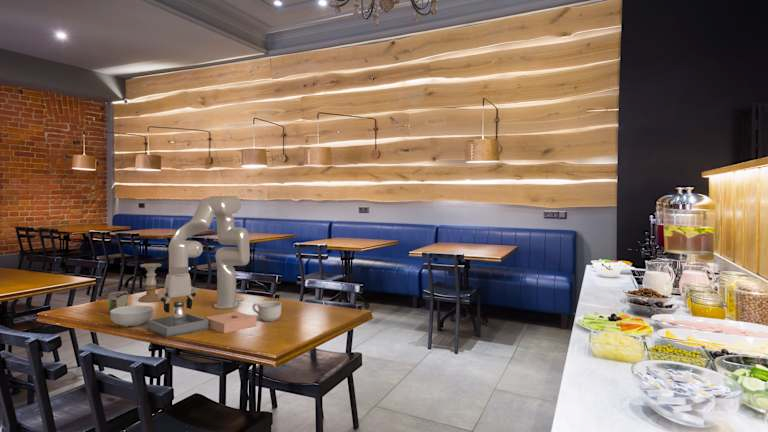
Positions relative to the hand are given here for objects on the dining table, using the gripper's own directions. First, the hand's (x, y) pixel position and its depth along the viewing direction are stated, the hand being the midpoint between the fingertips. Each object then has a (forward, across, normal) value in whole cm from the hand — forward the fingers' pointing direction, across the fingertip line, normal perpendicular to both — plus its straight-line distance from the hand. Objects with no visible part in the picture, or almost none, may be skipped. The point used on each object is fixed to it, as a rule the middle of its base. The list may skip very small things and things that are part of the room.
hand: (178, 310), depth 194 cm
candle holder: (+8, -18, -68) cm, 71 cm away
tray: (+8, 0, 0) cm, 8 cm away
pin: (+7, 0, 0) cm, 7 cm away
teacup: (+9, -36, +14) cm, 40 cm away
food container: (+9, +7, -49) cm, 50 cm away
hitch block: (+8, -18, +12) cm, 23 cm away
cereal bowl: (+9, +10, -22) cm, 26 cm away
